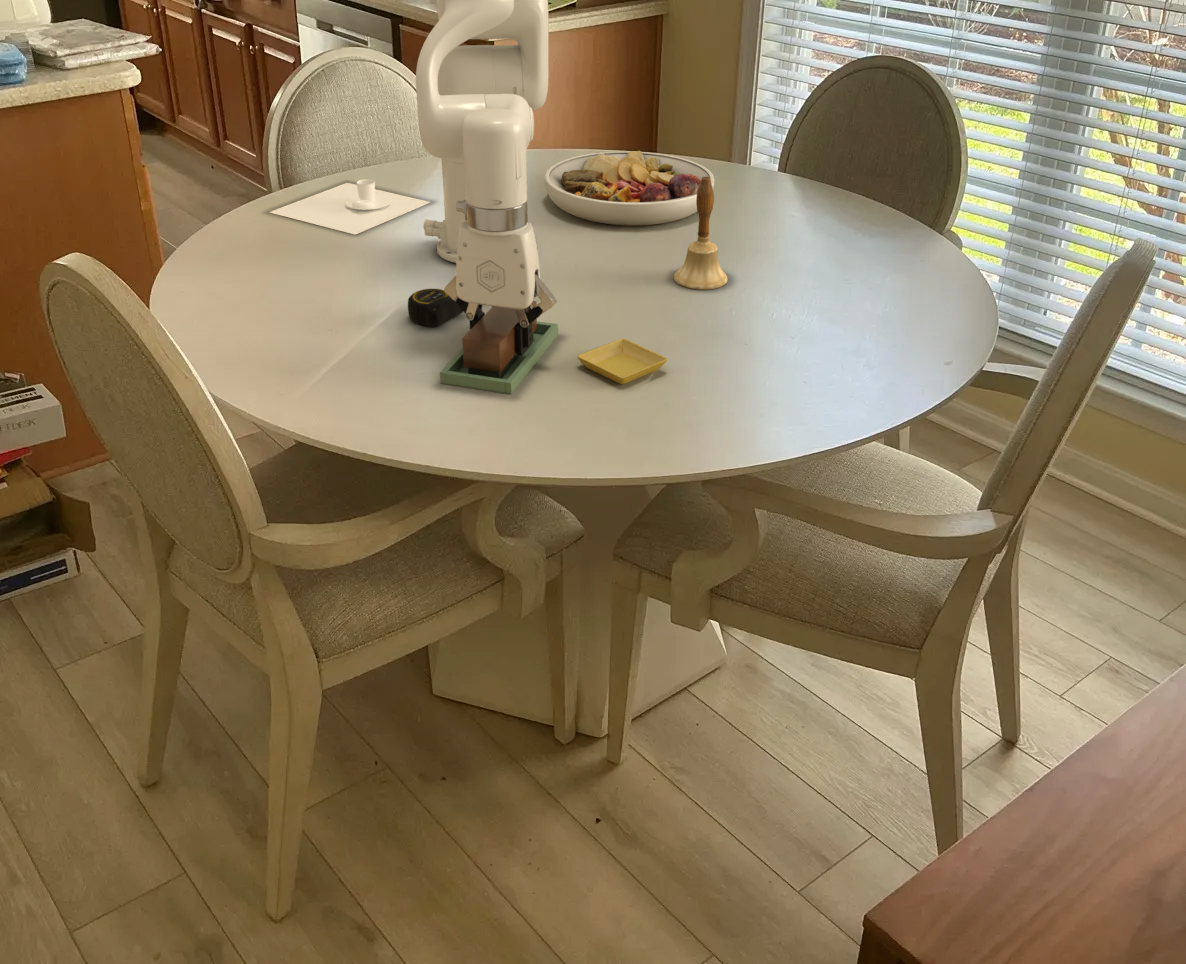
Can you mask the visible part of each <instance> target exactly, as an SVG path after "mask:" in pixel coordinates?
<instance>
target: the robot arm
mask: <svg viewBox="0 0 1186 964" xmlns="http://www.w3.org/2000/svg"><path fill="white" fill-rule="evenodd" d="M436 10H437V18H438V21H437V23H436V24H435V25H434V26H433V28H432V29H431V31H430V32H429V33H428V36H427V37H426V39H425V41H424V42H423V45H422V47H421V49H420V51H419V55H418V59H417V63H416V70H415V92H416V106H417V118H418V129H419V136H420V140H421V143H422V146H423V148H424V149H425V151H426V152H427V153H428V154H429V155H430V156H432V157H434V158H438V159H441V171H442V172H441V173H442V175H441V176H442V191H443V206H444V207H443V209H444V219H443V220H442V221H438V220H434V219H425V220H424V222H423V231H424V235H425V236H426V237H437V238H438V239H439V241H438V243H437V245H436V250H437V251H436V252H437V255H438V256H439V257H440V258H441V259H443V260H445V261H447V262H451V263H455V275H454V277H452V278H451V280H450V281H449V282H448V283H447V284H446V286H444V288H443V290H444V291H445V292H446V293H447V294H448V295H449V296H450V297H451V298H452V299H453V300H455V301H456V304H457V305H458V306H459V307H460V308H461V309H462V311H463V312H462V313H464V315H465V318H466V319H467V320H468V321H469V331H470V330H471V329H472V328H473V327H474V326H475V325H476V324H477V322H478V321H479V320H480V319H481V318H482V317H483V316H484V315H485V314H486V312H485V311H483V307H484V306H487V307H493V306H495V307H502V308H510V309H515V312H516V315H517V317H518V320H519V325H518V326H517V327H516V353H517V354H518V355H523V354H524V352H525V351H526V350H527V349H528V348H529V347H530V346H531V345H532V322H533V321H534V320H536V319H537V320H538V318H539V317H540V316H541V315H543V314H544V313H546V312H547V311H548V310H550V309H551V308H553V307H554V306H555V304H556V303H557V298H556V297H555V296H554V294H553V293H552V291H551V290H550V289H549V288H548V287H547V286H546V284H545V283H544V282H543V281H542V279H541V270H540V258H539V251H538V245H537V240H536V235H535V231H534V227H533V223H530V222H529V221H528V180H527V175H528V174H527V150H528V148H529V146H530V143H531V142H532V141H533V139H534V136H535V117H534V111H537V110H540V109H541V108H542V107H543V106H544V105H545V103H546V101H547V98H548V93H549V77H550V75H549V73H550V71H549V1H548V0H436ZM508 39H509V40H514V41H516V42H517V44H493V45H492V44H491V45H490V44H476V45H473V44H472V45H470V44H469V45H462V44H464V43H465V42H467V41H468V40H508ZM536 297H538V299H539V300H540V302H539V303H536V306H535V307H534V308H533V306H532V304H531V303H532V301H534V298H536Z"/></svg>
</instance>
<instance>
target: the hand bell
mask: <svg viewBox="0 0 1186 964" xmlns="http://www.w3.org/2000/svg"><path fill="white" fill-rule="evenodd" d="M714 203H715V192H714V188H713V187H712V184H711V178H710V177H702V180H701V183H700V186H699V188H698V191H697V199H696V205H697V215H698V227H697V228H698V229H697V240H696V241H693V242H691V243H689V245H688V247H687V252H686V256H685V259H684V262H683V264H682V265H681V267H680V268H679V269H677V270H676V271H675V273H674V275H673V280H674V282H675V283H676V284H677V285H679V286H682V287H684V288H687V289H691V290H698V291H702V290H703V291H704V290H706V291H707V290H716V289H719V288H722V287H723V286H725V285H726V284H728V280H729V279H728V276H727V274H726V272H725V271H723V269H722V267H721V265H720V261H719V254H718V253H719V251H718V246H717V245H716V244H715V243H714V242H711V241H710V218H711V215H712V211H713V208H714Z"/></svg>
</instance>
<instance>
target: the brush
mask: <svg viewBox="0 0 1186 964" xmlns="http://www.w3.org/2000/svg"><path fill="white" fill-rule="evenodd" d="M531 304H532V306H533V308H534V307H535V306H536V305H537V300H533V301H532V303H531ZM537 321H538V318H537V319H536V320H534V321H533V322H532V340H533V332H534V331H535V330H536V329H537ZM518 325H519V320H518V317H517V315H516V312H515V309H510V308H502V307H495V306H491V307H490V308H489V309H488V310H487V312H485V315H484V316H483V317H482V318H481V319H480V320H479V321H478V322H477V324H476V325H475V326H474V327H473V328H472V329H471V330H470V329H469V331H468V332H467V333H466V334H465V335H464V336H463V337H462V340H461V341H462V348H463V360H464V367H468V374H473V375H479V376H486V377H493V378H499V379H501V378H502V377H503V376H504V374H505V373H506V372H507V371H508V370H509V368H510V367H511V366H512V365H513V363H514V362H515V361H516V360H517V359H518V357H519V356H520V355H518V354H517V353H516V327H517V326H518Z"/></svg>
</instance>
